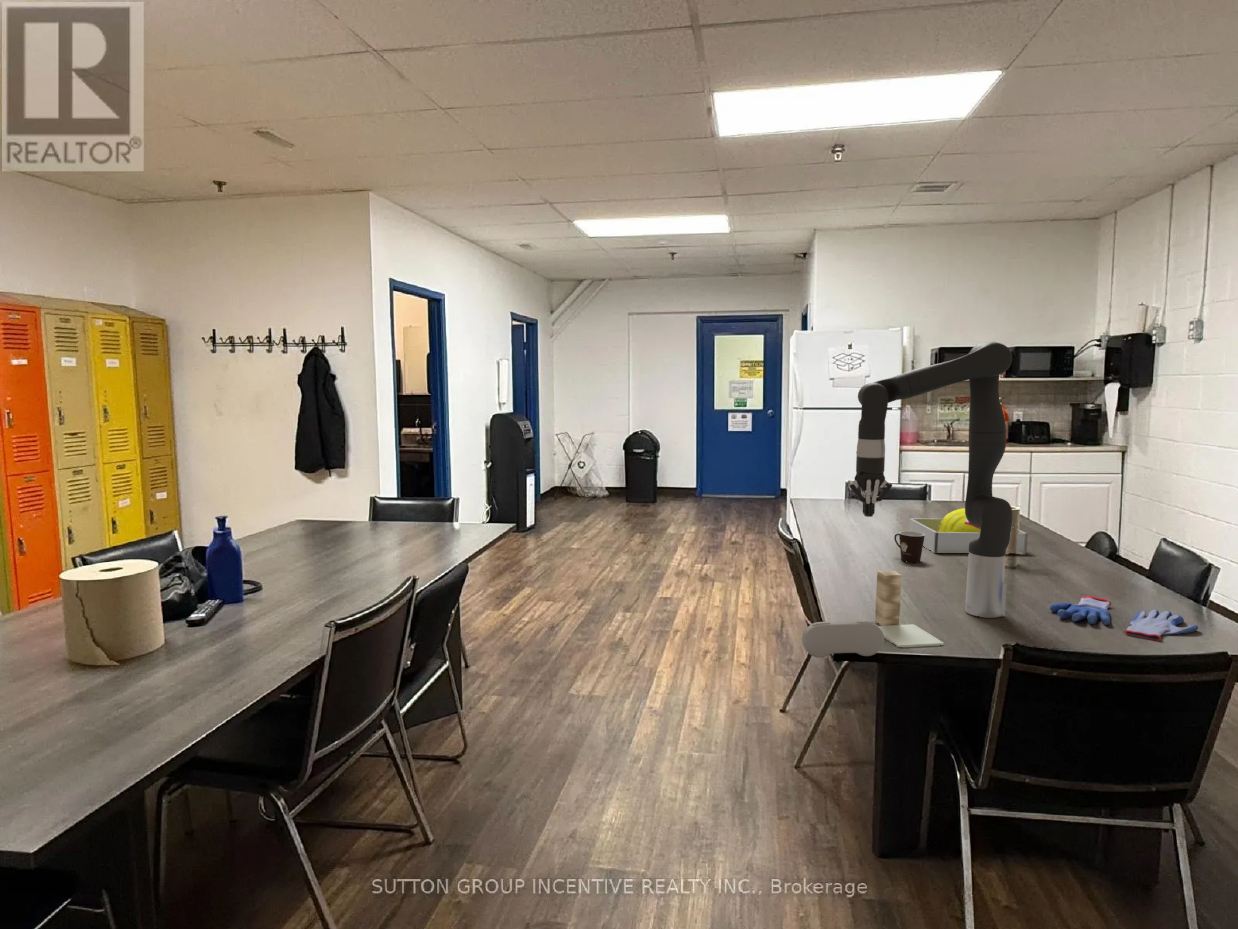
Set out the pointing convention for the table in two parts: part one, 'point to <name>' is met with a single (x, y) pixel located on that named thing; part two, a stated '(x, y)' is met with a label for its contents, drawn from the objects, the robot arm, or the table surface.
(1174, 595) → the table surface
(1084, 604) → the pair of gloves
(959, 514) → the hard hat
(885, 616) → the beech block
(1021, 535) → the grey crate
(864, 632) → the game controller
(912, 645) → the felt mat
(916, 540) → the coffee mug
